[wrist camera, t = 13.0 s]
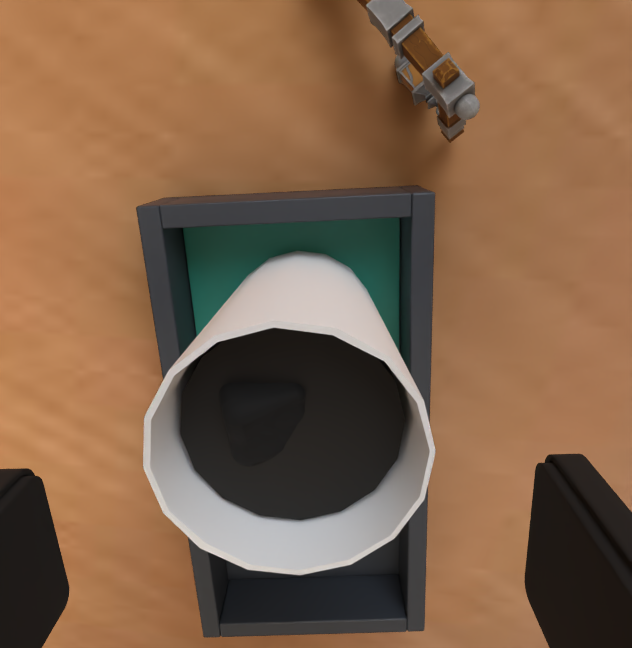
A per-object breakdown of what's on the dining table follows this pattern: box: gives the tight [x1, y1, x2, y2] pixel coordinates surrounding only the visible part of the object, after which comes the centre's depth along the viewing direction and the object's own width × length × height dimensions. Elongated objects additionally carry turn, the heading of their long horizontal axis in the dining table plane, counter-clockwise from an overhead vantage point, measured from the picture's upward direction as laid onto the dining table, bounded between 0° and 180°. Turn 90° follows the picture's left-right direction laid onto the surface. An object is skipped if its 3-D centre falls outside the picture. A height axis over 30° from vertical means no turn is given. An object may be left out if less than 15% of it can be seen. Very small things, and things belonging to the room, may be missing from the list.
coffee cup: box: [143, 251, 436, 575], centre depth 16 cm, size 7×7×10 cm
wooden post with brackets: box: [357, 0, 480, 143], centre depth 17 cm, size 2×8×4 cm, turn 39°
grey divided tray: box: [136, 185, 435, 637], centre depth 22 cm, size 10×19×3 cm, turn 3°
